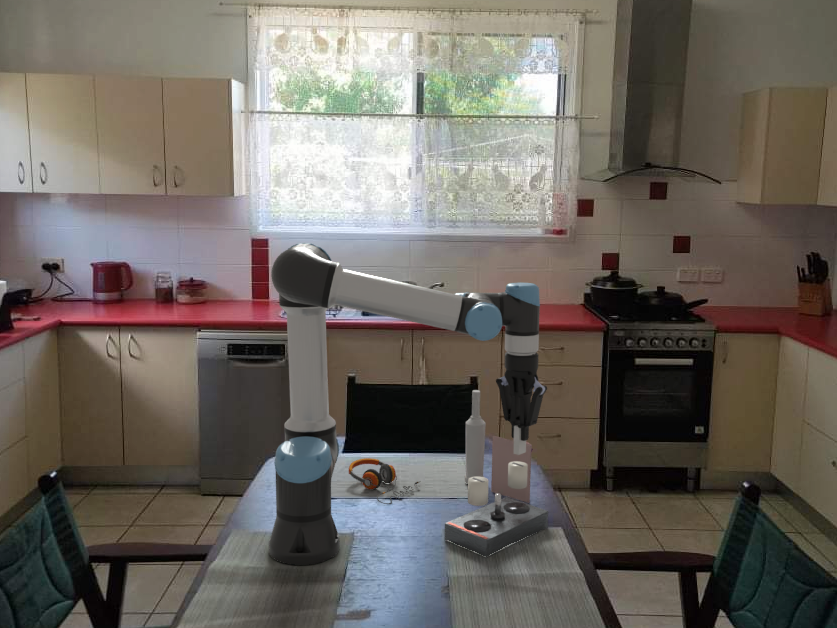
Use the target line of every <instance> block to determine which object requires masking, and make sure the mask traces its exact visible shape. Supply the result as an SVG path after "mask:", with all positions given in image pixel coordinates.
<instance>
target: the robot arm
mask: <svg viewBox="0 0 837 628" xmlns="http://www.w3.org/2000/svg"><path fill="white" fill-rule="evenodd" d="M270 273H271V275H270V277H271V281H272V282H271V283H272V284H273V285H272V286H273V287H274V289H275V290H276V292H277V294H278V300H279V304H278V305H279V307H280V308H281V309H282V310H283V311H284V312H285V314H286V325H287V326H286V327H287V329H286V330H287V351H288V376H289V377H288V378H289V380H288V381H289V402H290V405H289V406H290V417H289V418H288V419H287V420H286V421H285V422H284V424H283V425H284V441H283V442H281V444H279V445H278V447H277V449H276V451H275V457H274V461H273V462H274V463H273V464H274V469H275V503H276V504H275V505H276V508H275V509H276V512H275V513H276V516H275V517H276V518H275V520H274V524H273V527H272V531H271V535H270V537H269V539H268V554H269V553H270V554H269V556H270V555H271V556H272V557H273V558H275V559H276V560H275V559H274V560H275V561H277V560H278V561H277V562H279V561H281V562H284V563H283V564H285V563H288V564H287V565H291V564H295V565H294V566H308V565H309V564H310V565H315V563H316V564H321V563H323V562H326V561H329V560H331V559H333V558H334V557H335V556H336V555H337V554H338V553H339V552H338V551H340V549H339V548H341V547H340V546H341V545H340V541H341V540H340V539H341V538H340V536H339V533H338V529H337V526H336V524H335V521H334V518H333V515H332V478H333V474H334V470H335V467H336V464H337V461H338V457H339V454H340V452H339V451H340V444H339V442H338V440H339V439H338V438H337V422H336V419H334V418H333V417H332V416H331V415H330V414H329V413H330V412H329V410H330V409H329V406H330V405H329V384H328V383H329V381H328V378H329V377H328V373H329V372H328V351H327V349H328V347H327V320H326V319H327V318H326V317H327V316H326V314H327V313H326V312H327V311H328V309H331V308H333V307H335V306H339V307H343V308H348V309H353V310H356V311H362V312H364V313H365V312H367V313H371V314H375V315H380V316H384V317H389V318H393V319H398V320H401V321H402V320H403V321H406V322H407V321H408V322H412V323H415V324H416V323H417V324H420V325H421V324H422V325H426V326H431V327H434V328H439V329H445V330H449V331H453V332H456V333H460V334H465V335H469V336H470V337H472V338H474V339H475V340H478V341H483V342H485V341H490V340H493V339H494V338H495V337H496V336H498V335H499V333H500V332H501V330H502V327H505V330H504V331H505V332H504V350H505V351H506V352H505V353H504V368H505V372H504V375H503V376H502V377H499V378H496V379H495V382H496V385H497V387H498V389H499V395H500V401H501V406H502V412H503V418H504V421H506V422H509V423H510V424H511V435H510V436H511V439H513V438H514V453H513V454H517V455H520V454H523V453H525V452H526V441H528V440H529V439H530V438H529V437H530V436H529V432H530V427H531V426H534V425H536V424H537V423H538V420H539V419H538V418H539V414H540V411H541V406H542V402H543V398H544V394H545V393H546V392H547V390H548V387H547V385H542V384H541V383H540V382H539V377H538V374H537V373H538V369H539V353H538V351H539V349H540V348H539V346H540V344H539V343H540V315H541V314H540V313H541V312H540V310H541V309H540V308H541V302H540V287H539V286H538V285H537V284H536V283H530V282H510V283H507V284H506V285H505V290H504V291H502V292H470V291H466V292H456V293H451V292H445V291H441V290H437V289H434V288H433V289H432V288H429V287H424V286H420V285H415V284H411V283H407V282H401V281H397V280H393V279H390V278H389V279H388V278H386V277H385V278H384V277H381V276H374V275H370V274H366V273H363V272H357V271H353V270H349V269H346V268H345V269H344V267H343V266H342V265H341V263H340V262H335V261H332V258H331V256H330V255H329V253H328V252H327V251H326V250H325V249H323V248H322V247H321V246H319V245H317V244H314V243H308V242H307V243H306V242H302V243H296V244H293V245H291V246H290V247H289V248H287V249H285V250H284V251H282V252H281V253H280V254H279V255H278V256H277V257H276V259H275V260H274V262H273V265H272V266H271V271H270ZM271 556H270V557H271ZM272 557H271V558H272ZM273 558H272V559H273ZM325 560H326V561H325ZM281 562H280V563H281ZM310 565H309V566H310Z"/></svg>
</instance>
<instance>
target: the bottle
mask: <svg viewBox="0 0 837 628" xmlns="http://www.w3.org/2000/svg"><path fill="white" fill-rule="evenodd" d="M471 394H472V395H471V403H472V404H471V415H470V417H469V418H468V420H466V421H465V475H464V483H465V482H466V483H467V484H468V479H469V478H471V477H477V476H478V477H485V476H484V467H485V465H484V463H485V442H486V424H487V423H486V421H484V419H482V416H481V415H480V414H481V413H480V411H481V410H480V408H481V407H480V406H481V403H480V402H481V390H478V389H473V390H472V392H471ZM466 483H465V484H466ZM467 484H466V485H467Z"/></svg>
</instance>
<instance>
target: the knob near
mask: <svg viewBox="0 0 837 628" xmlns="http://www.w3.org/2000/svg"><path fill="white" fill-rule="evenodd" d="M467 504H469V505H470V506H474V507H475V506H476V507H484V506H486V505H489V479H488V478H487V477H485V476H484V477H478V476H477V477H471V478H469V479H468V485H467Z"/></svg>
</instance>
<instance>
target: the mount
mask: <svg viewBox="0 0 837 628" xmlns="http://www.w3.org/2000/svg"><path fill="white" fill-rule="evenodd" d="M493 511H495V501H494V502H491V503H488V504H486V505H483V506H481V507H479V508H476V509H475V510H472V511H470V512H468V513H465V514H463V515H460V516H459V517H458V516H457V517H456V518H454V519H452V520H449V521H447V522H445V523H444V541H445V540H449V541H451V542H453V543H455V544H457V545H460V546H462V547H465V548H467V549H469V550H472V551H475V552H477V553H479V554H481V555H483V556H486V557H487V556H489V555H490V554H492V553H494V552H496V551H498V550H500V549H502V548H503V547H505V546H507V545H509V544H511V543H514V542H517V541H519V540H521V539H523V538H525V537H527V536H529V537H531V536H533V535H535V534H537V533H539V532H541V531H544V530H545V529H548V525H549V524H548V521H549V520H548V519H549V510H546V509H544V508H540V507H538V506H534V505H531V504H530V503H528V502H524V501H521V500H517V499H514V498H511V497H507V496H504V497H503V498H501V512H504V513H505V518H504V519H502V520H494V519H492V518H491V517H490V513H491V512H493ZM536 532H537V533H536ZM534 533H535V534H534ZM532 534H533V535H532ZM530 535H531V536H530ZM527 538H528V537H527ZM525 539H526V538H525ZM523 540H524V539H523ZM521 541H522V540H521ZM519 542H520V541H519ZM517 543H518V542H517ZM457 545H456V546H457ZM489 557H490V556H489ZM487 558H488V557H487Z"/></svg>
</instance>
